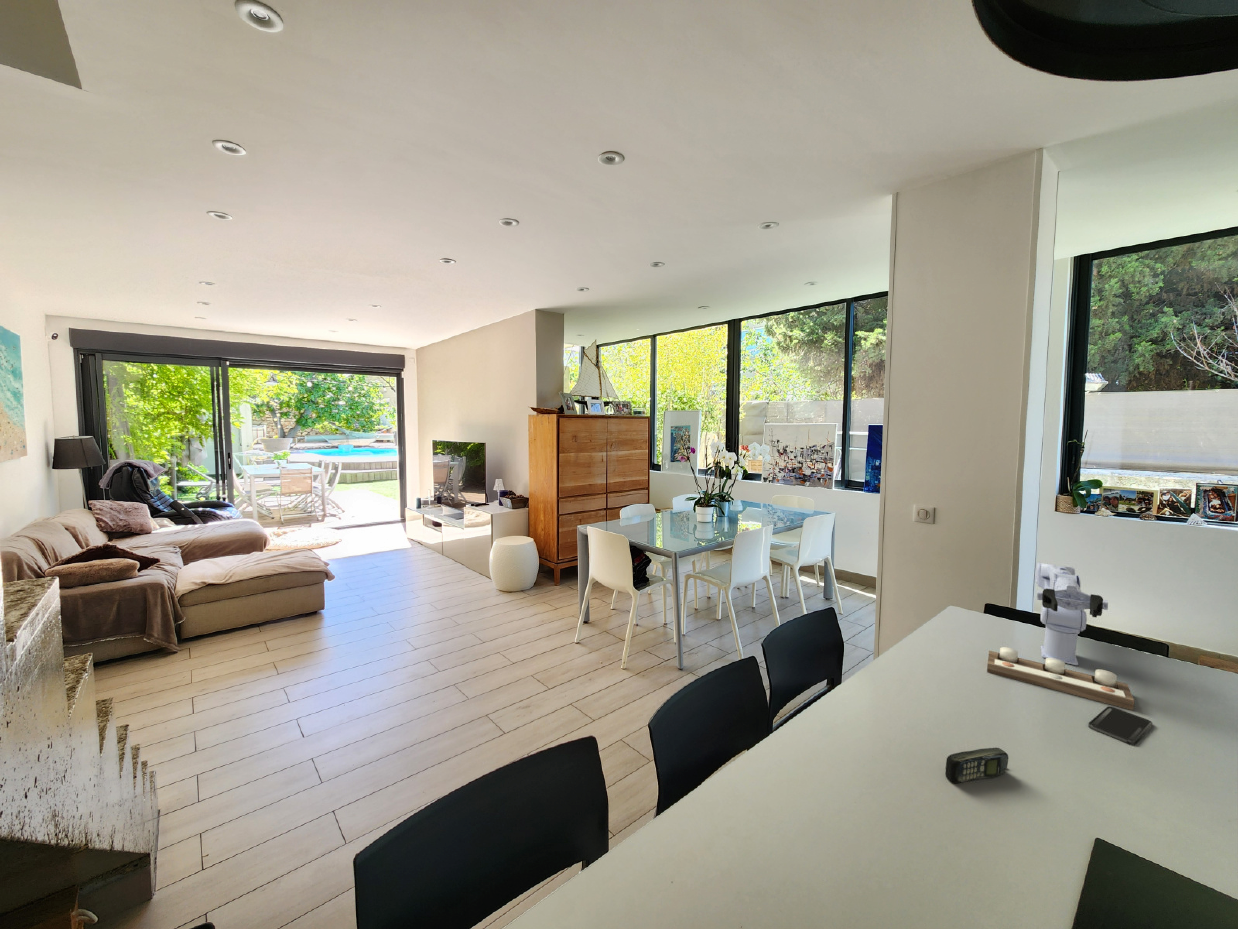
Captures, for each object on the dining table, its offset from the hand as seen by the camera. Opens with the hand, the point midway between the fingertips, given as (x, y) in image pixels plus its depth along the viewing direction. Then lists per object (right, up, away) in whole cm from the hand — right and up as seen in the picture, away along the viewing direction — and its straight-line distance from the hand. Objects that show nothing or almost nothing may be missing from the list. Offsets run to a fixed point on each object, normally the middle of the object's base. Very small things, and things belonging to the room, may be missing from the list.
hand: (1075, 610), depth 133 cm
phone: (-4, -23, -16) cm, 28 cm away
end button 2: (-9, -17, +11) cm, 22 cm away
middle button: (-1, -18, +5) cm, 18 cm away
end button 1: (+7, -18, -1) cm, 19 cm away
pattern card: (-4, -18, +1) cm, 19 cm away
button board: (-3, -20, +3) cm, 21 cm away
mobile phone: (-49, -24, -33) cm, 63 cm away
